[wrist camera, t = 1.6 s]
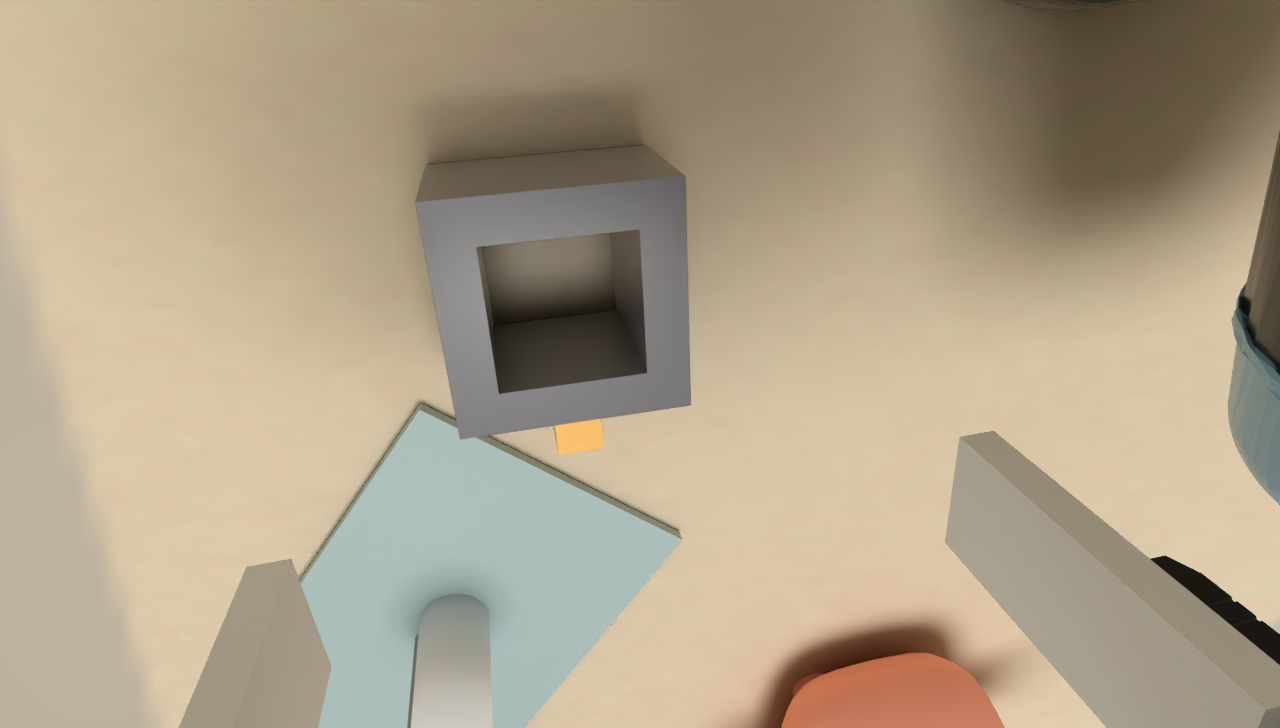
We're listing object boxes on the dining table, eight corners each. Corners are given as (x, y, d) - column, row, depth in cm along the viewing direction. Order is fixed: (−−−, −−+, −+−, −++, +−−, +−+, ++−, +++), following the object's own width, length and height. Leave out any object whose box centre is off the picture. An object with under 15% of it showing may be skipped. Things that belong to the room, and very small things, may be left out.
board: (420, 402, 30) (406, 514, 23) (679, 531, 36) (727, 651, 29) (221, 694, 34) (161, 859, 28) (481, 768, 40) (483, 920, 33)
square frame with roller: (426, 164, 26) (415, 202, 21) (644, 144, 28) (685, 175, 22) (466, 390, 30) (465, 469, 25) (654, 363, 32) (691, 434, 26)
